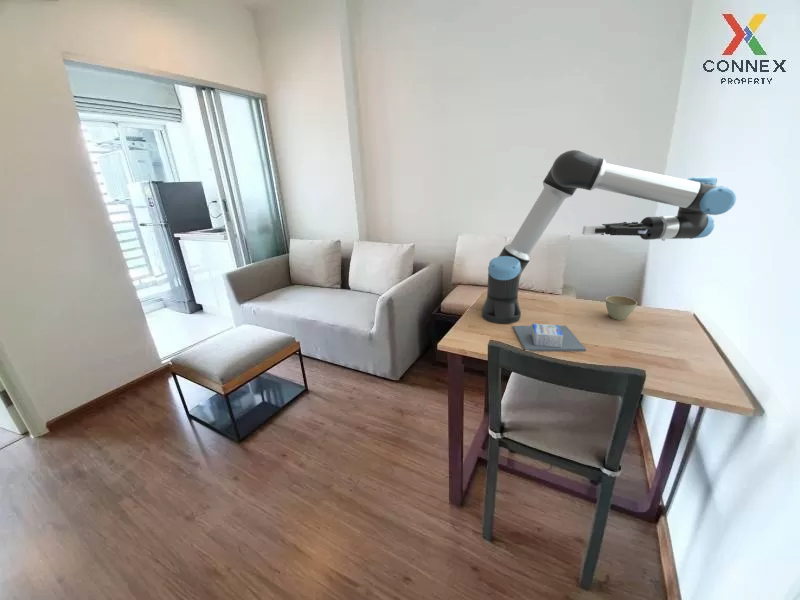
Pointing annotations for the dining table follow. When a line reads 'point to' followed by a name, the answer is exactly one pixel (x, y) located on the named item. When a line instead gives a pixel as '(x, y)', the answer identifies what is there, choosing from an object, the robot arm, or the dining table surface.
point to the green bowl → (620, 306)
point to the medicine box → (547, 335)
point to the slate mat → (567, 345)
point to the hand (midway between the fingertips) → (583, 230)
